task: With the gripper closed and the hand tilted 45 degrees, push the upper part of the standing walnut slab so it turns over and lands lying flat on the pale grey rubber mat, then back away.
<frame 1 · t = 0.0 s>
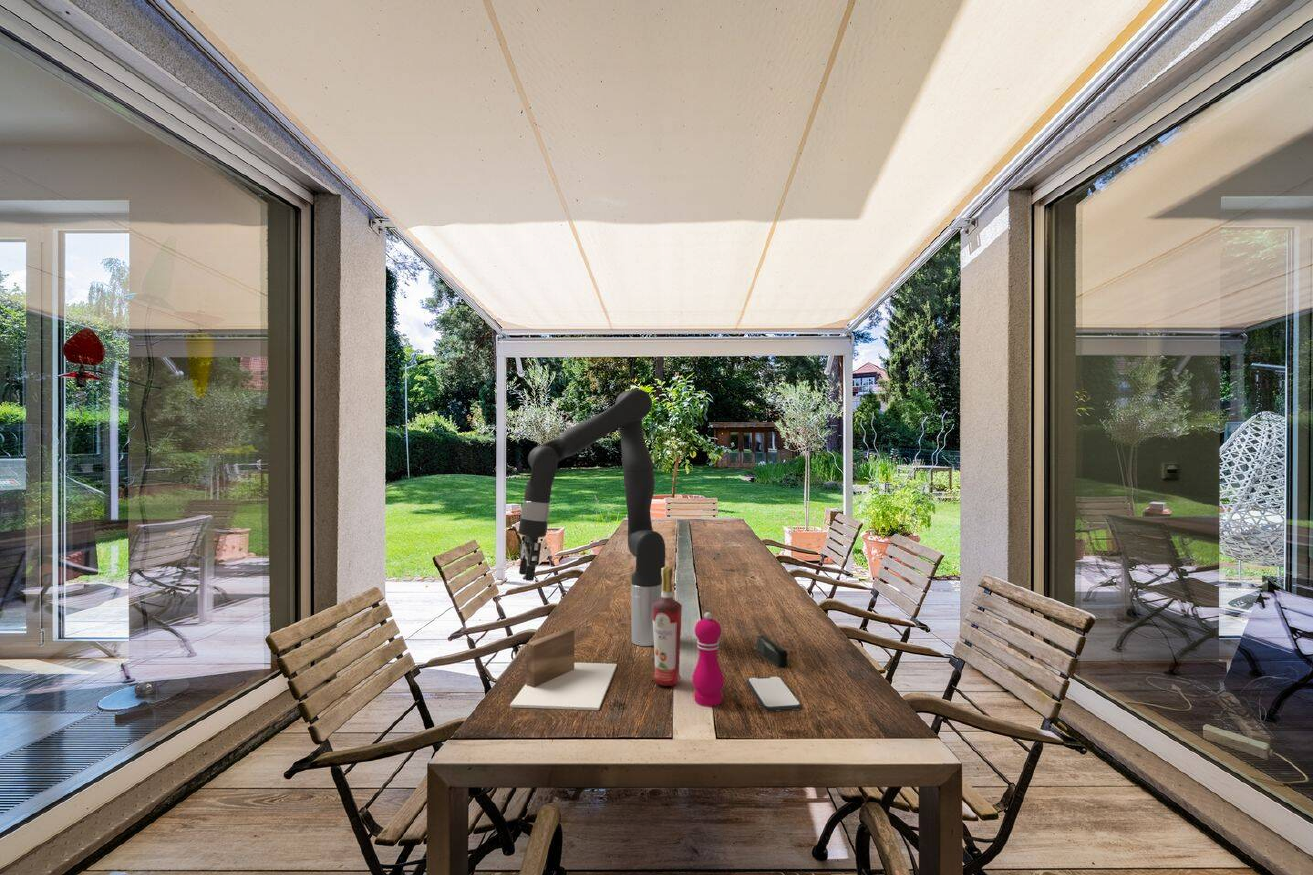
hand: (526, 577, 158), 22 cm above the table, tool pointing down, fingers open, 8 cm apart
mobile phone: (769, 659, 158), on the table
mat: (568, 684, 140), on the table
pepper mill: (708, 701, 132), on the table
liquor: (667, 683, 141), on the table
slab: (551, 676, 144), point 1 cm above the table, touching mat
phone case: (772, 697, 134), on the table
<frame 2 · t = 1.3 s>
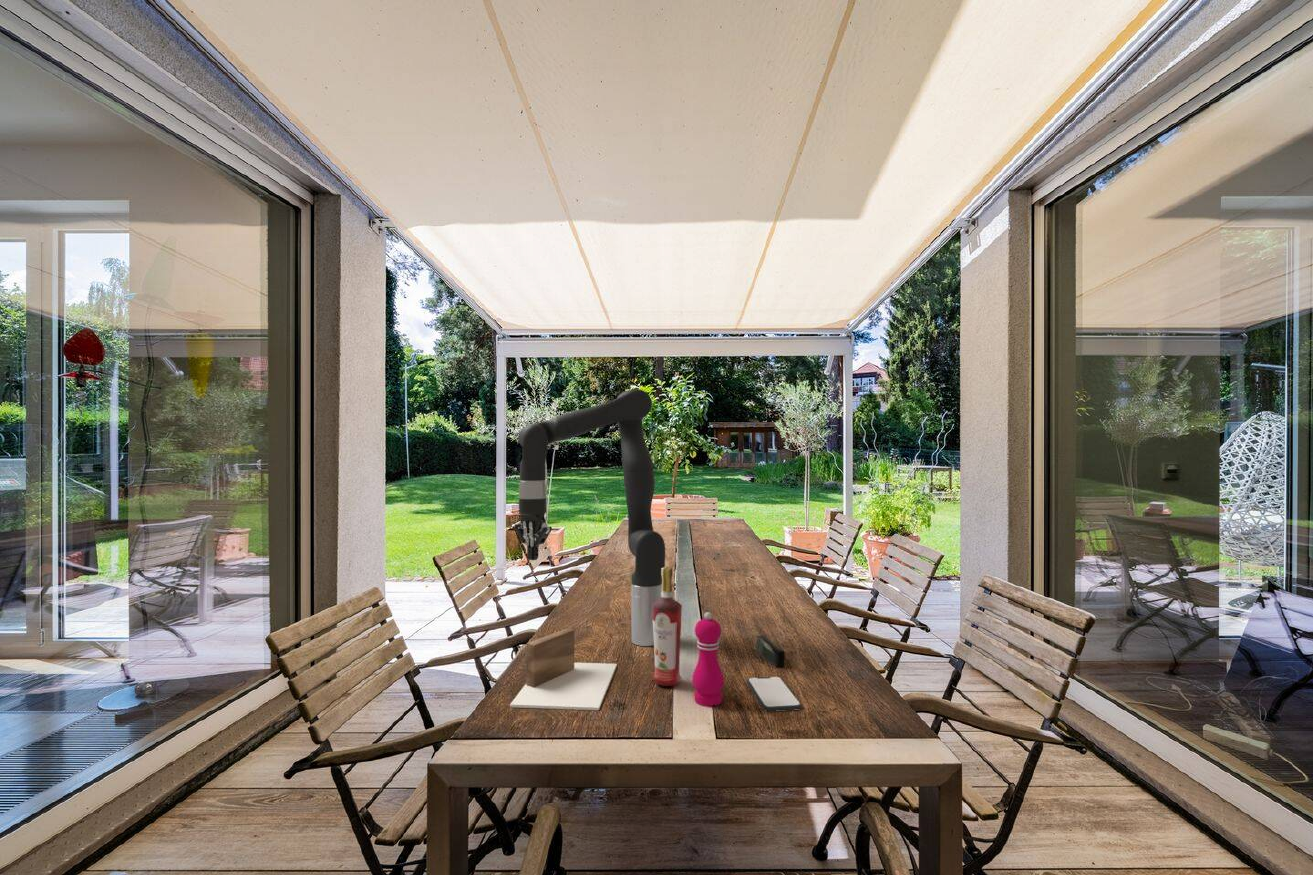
hand: (532, 559, 159), 27 cm above the table, tool pointing down, fingers closed
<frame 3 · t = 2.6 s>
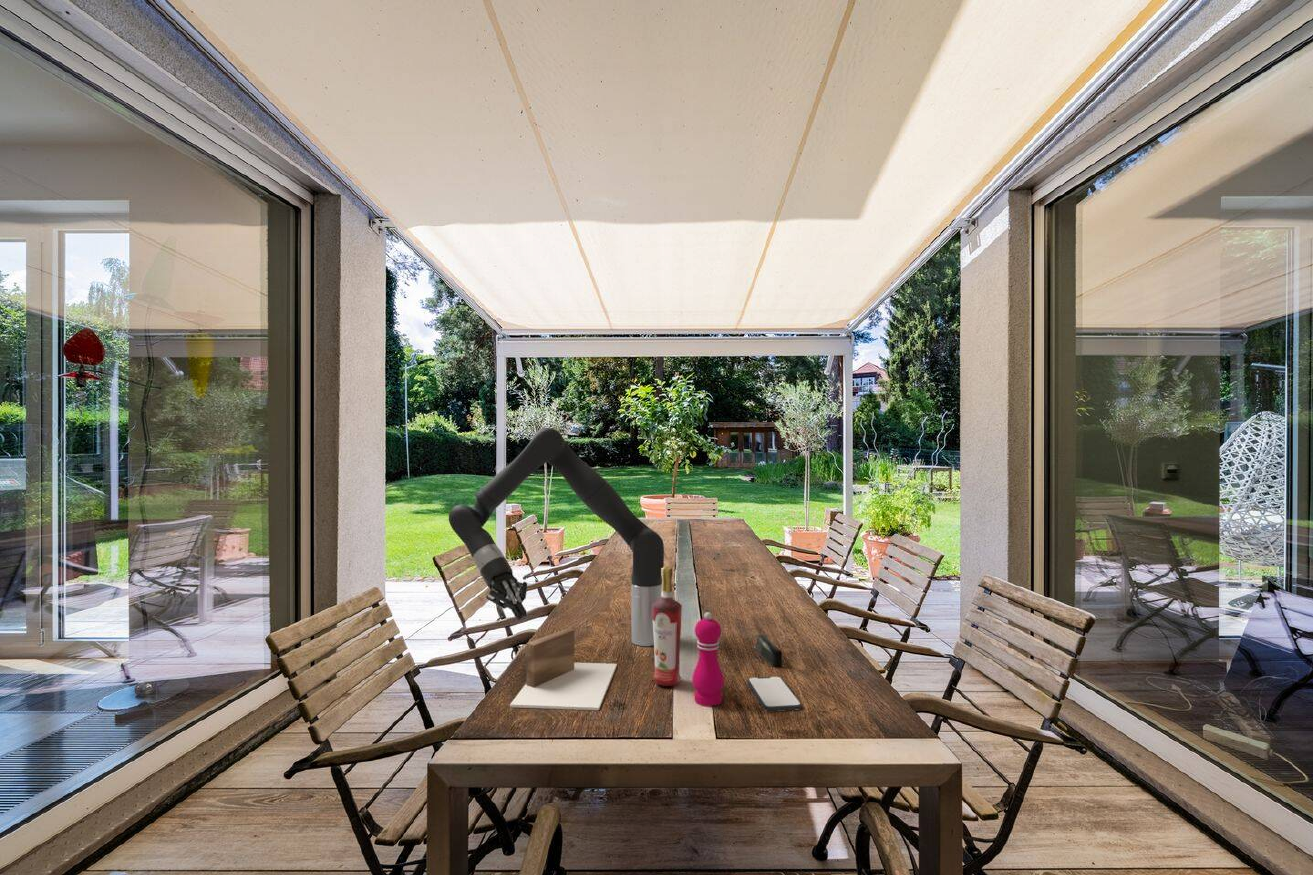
hand: (523, 617, 150), 14 cm above the table, tool tilted 45°, fingers closed
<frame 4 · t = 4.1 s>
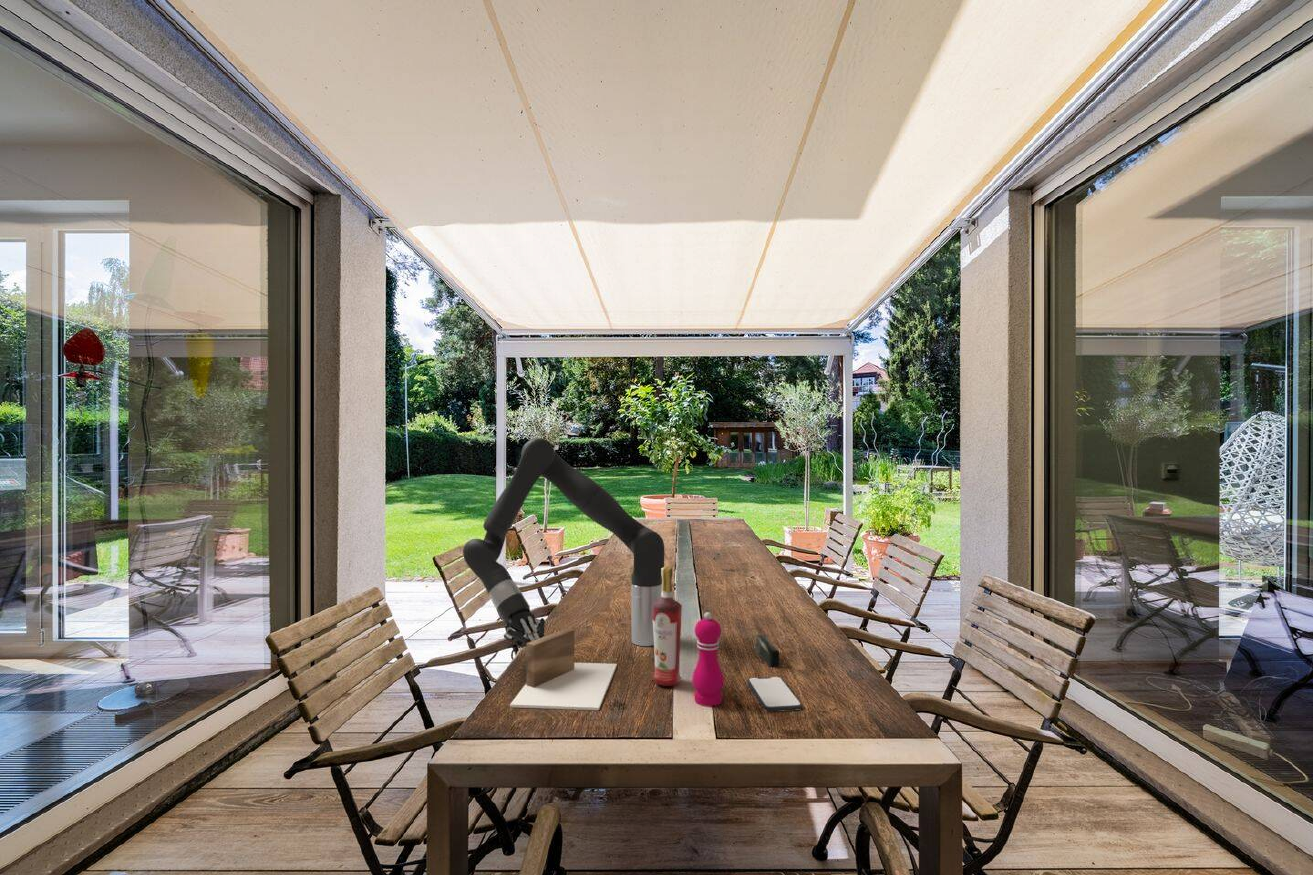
hand: (541, 656, 146), 5 cm above the table, tool tilted 45°, fingers closed
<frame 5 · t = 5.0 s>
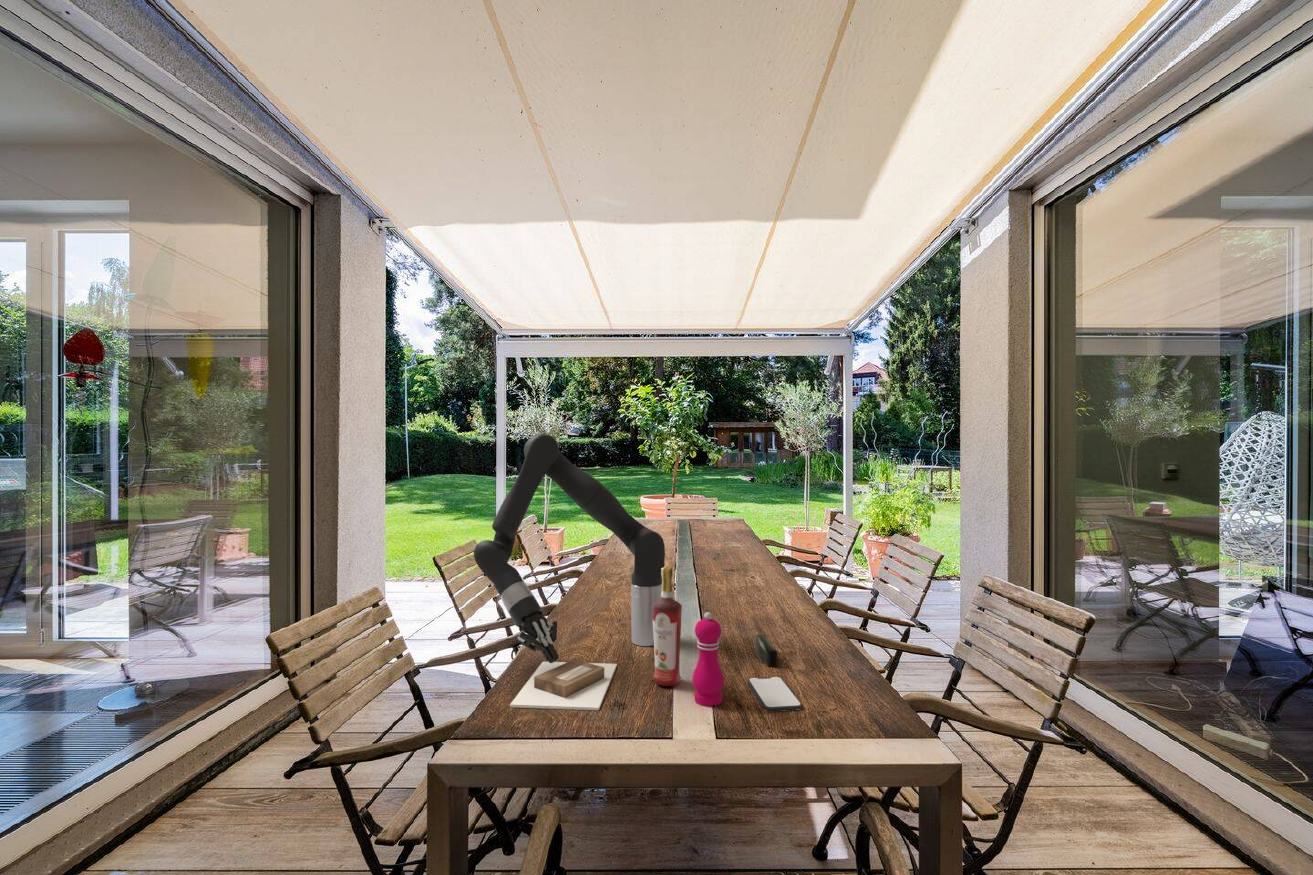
hand: (554, 660, 143), 5 cm above the table, tool tilted 45°, fingers closed
slab: (555, 672, 143), point 2 cm above the table, tilted 90°, touching mat
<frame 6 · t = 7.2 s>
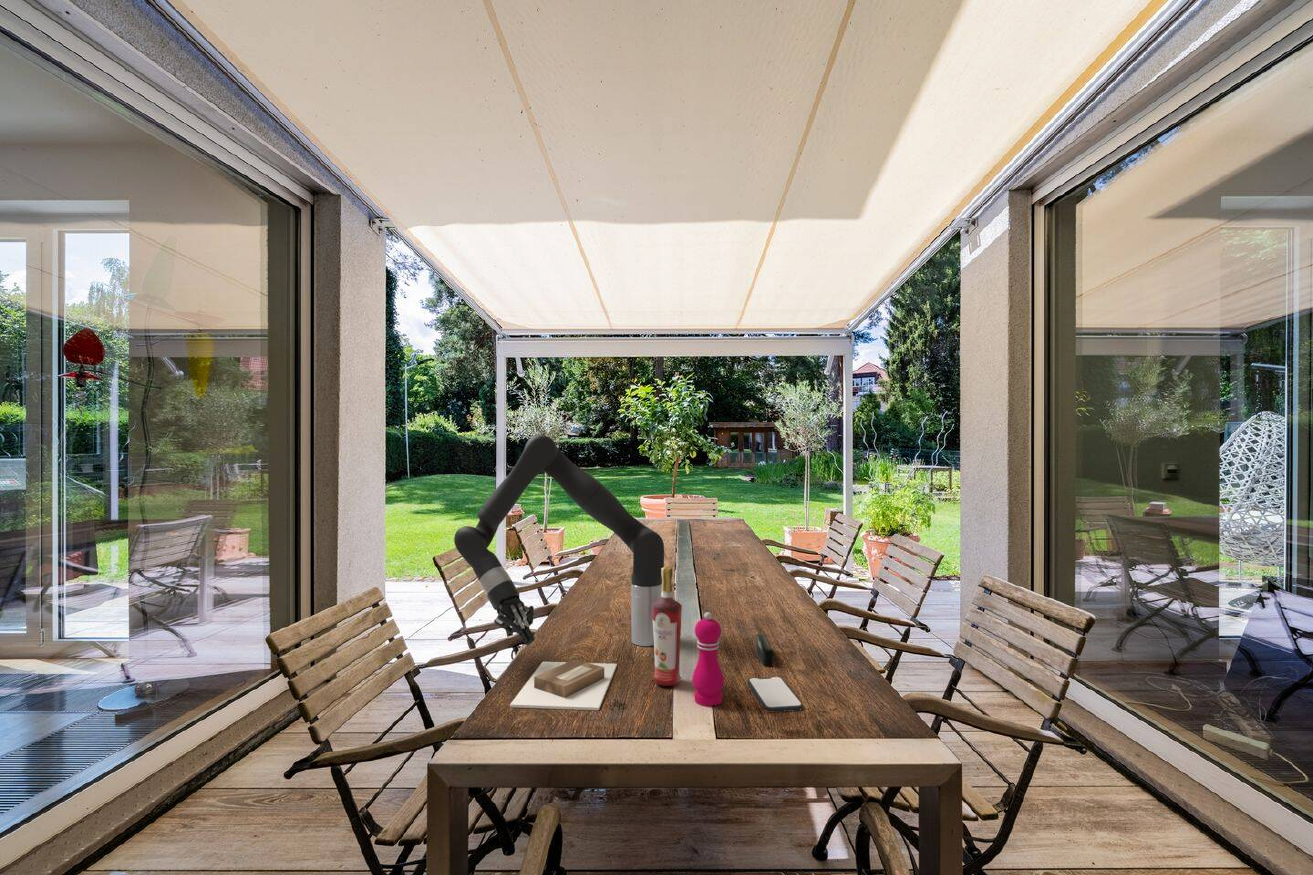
hand: (530, 642, 149), 7 cm above the table, tool tilted 45°, fingers closed
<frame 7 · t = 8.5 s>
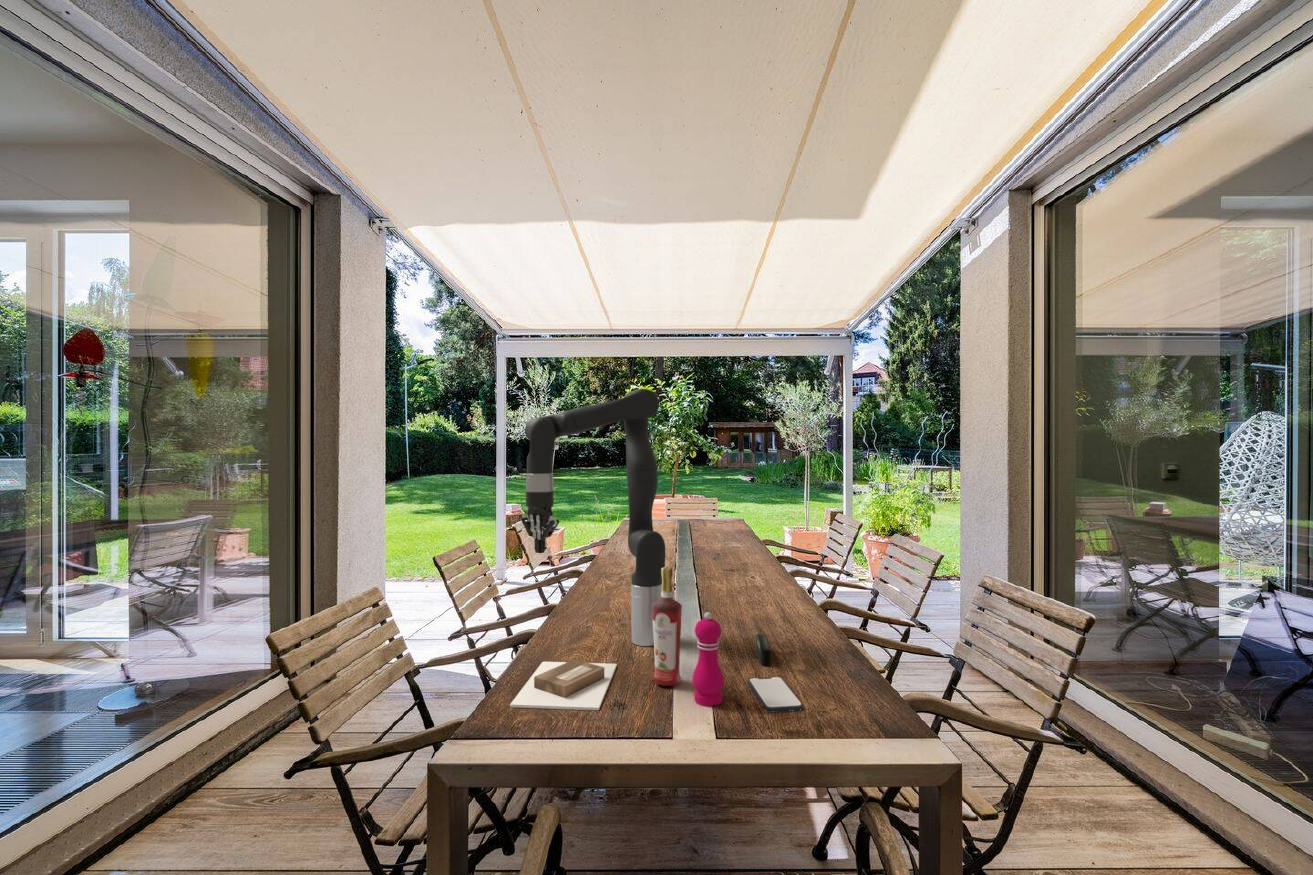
hand: (539, 552, 159), 29 cm above the table, tool pointing down, fingers closed
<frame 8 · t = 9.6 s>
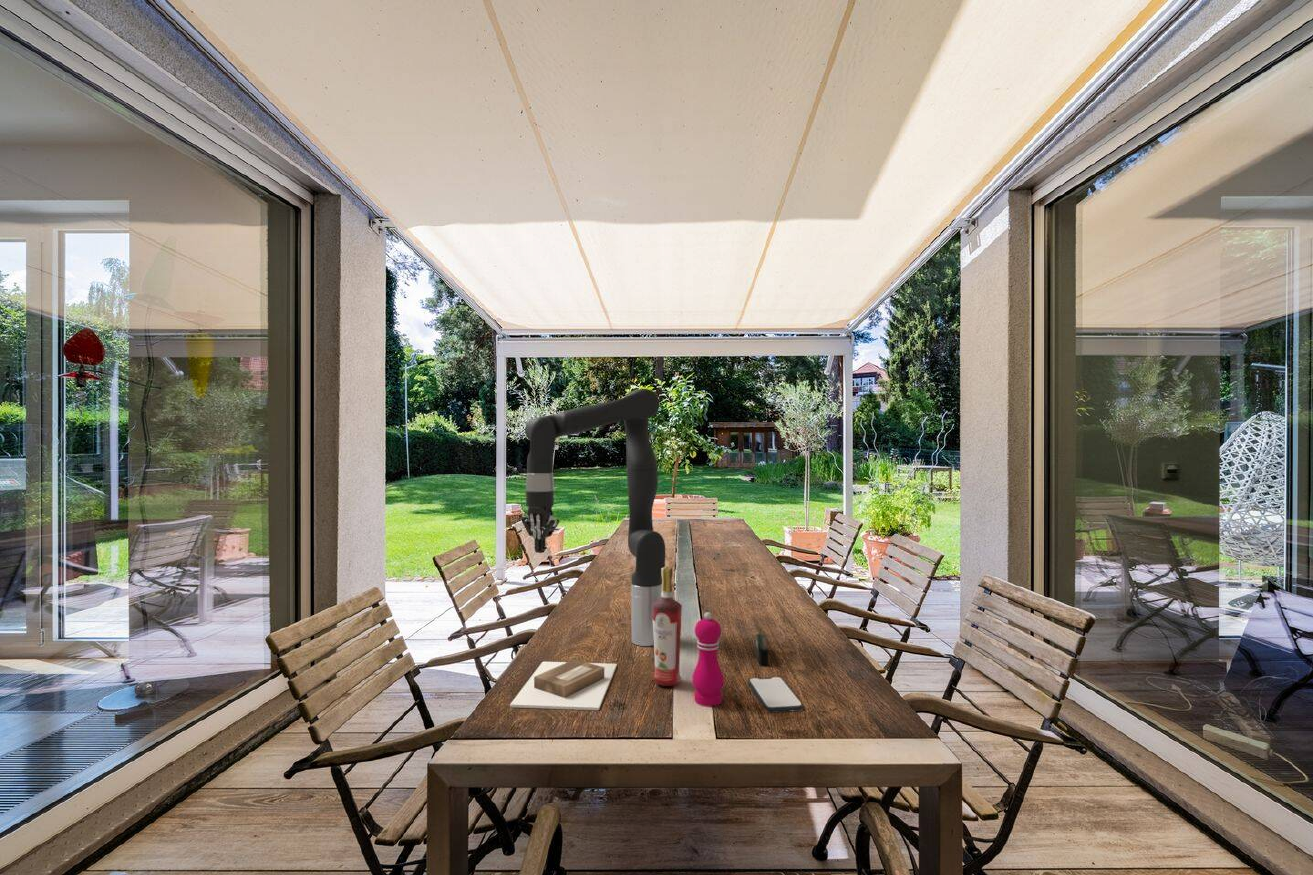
hand: (539, 552, 159), 29 cm above the table, tool pointing down, fingers closed
at the end: slab tilted 90°; slab inside the target area (4.4 cm from its centre), point 1.9 cm above the table; the gripper is holding nothing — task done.
